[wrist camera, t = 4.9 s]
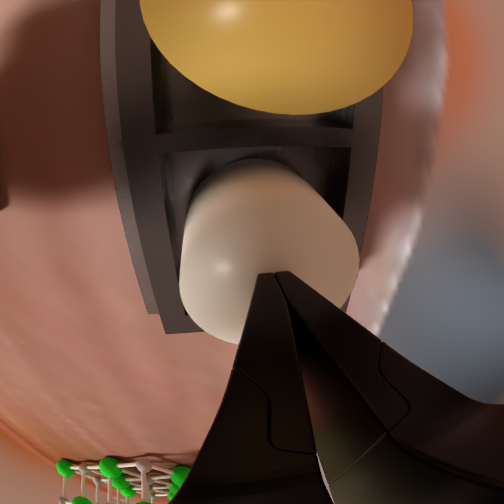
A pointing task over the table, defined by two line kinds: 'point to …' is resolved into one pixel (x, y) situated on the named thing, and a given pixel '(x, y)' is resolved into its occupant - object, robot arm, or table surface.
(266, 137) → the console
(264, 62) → the amber button
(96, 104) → the table surface
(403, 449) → the robot arm
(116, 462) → the molecular structure model
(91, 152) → the table surface
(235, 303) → the ivory button
